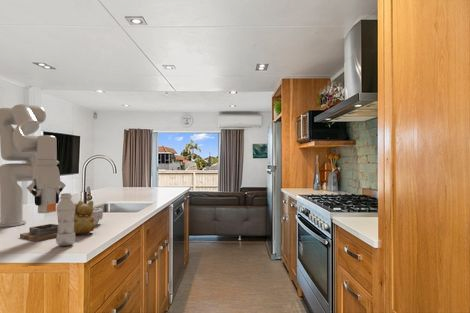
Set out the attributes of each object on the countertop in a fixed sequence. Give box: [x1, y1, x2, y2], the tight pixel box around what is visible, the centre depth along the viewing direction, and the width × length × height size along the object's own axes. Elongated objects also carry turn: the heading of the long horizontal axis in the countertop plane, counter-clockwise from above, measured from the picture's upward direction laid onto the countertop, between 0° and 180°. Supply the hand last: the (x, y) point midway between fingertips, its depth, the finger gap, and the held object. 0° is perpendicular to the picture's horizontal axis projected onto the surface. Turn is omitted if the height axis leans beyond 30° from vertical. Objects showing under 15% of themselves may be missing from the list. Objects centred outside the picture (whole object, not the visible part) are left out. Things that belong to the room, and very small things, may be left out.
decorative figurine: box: [74, 200, 96, 236], centre depth 141 cm, size 10×8×15 cm
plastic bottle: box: [55, 192, 76, 247], centre depth 123 cm, size 6×7×20 cm
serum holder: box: [19, 223, 58, 242], centre depth 139 cm, size 14×15×4 cm
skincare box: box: [37, 186, 57, 214], centre depth 139 cm, size 6×4×12 cm
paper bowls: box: [74, 207, 104, 226], centre depth 162 cm, size 15×15×8 cm
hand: (47, 203), depth 139 cm, fingers closed on skincare box, 7 cm apart
